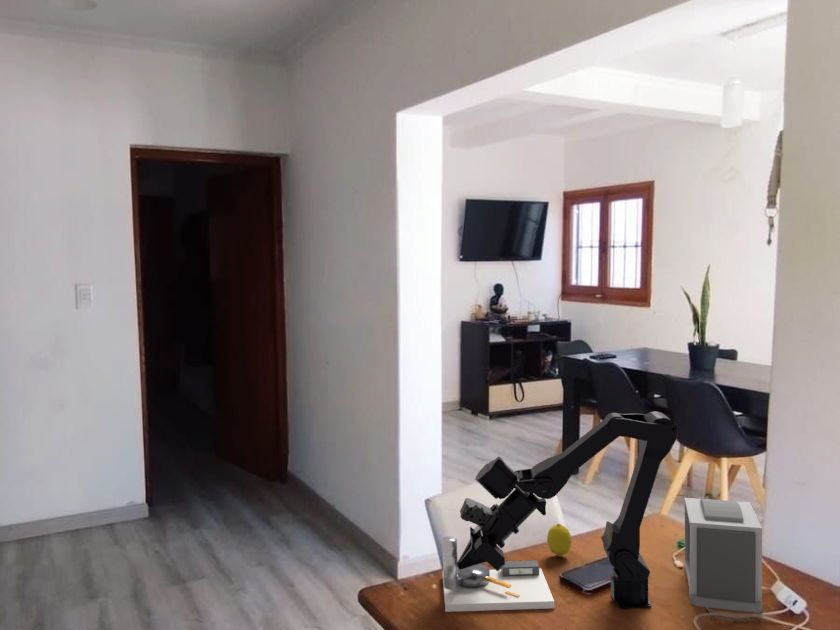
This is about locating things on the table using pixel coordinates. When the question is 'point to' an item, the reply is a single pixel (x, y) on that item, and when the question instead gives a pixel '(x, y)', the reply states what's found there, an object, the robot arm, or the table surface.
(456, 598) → the stand
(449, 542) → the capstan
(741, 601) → the alarm clock
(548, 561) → the table surface
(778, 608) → the table surface
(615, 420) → the robot arm
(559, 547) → the lemon
